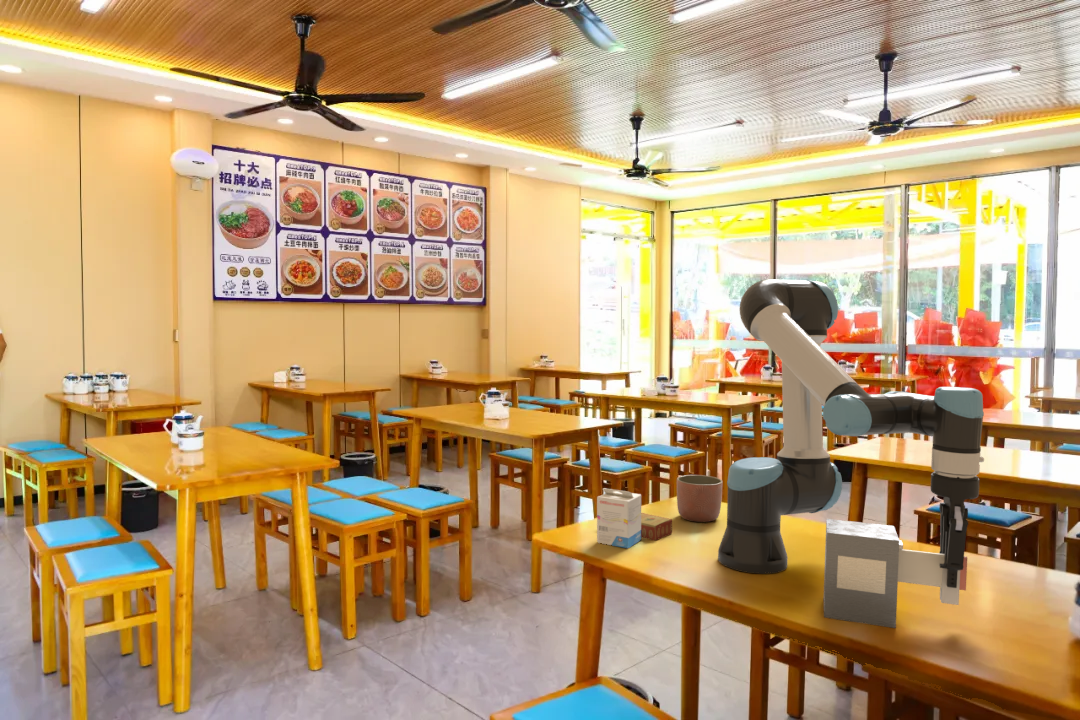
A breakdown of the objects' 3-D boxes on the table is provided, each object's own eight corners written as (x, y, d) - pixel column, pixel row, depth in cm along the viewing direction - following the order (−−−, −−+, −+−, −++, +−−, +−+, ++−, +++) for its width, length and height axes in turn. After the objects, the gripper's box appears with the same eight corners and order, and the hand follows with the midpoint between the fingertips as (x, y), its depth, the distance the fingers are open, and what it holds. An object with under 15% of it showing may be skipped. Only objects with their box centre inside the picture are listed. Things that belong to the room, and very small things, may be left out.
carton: (654, 542, 177) (655, 525, 177) (602, 529, 188) (603, 513, 188) (672, 534, 184) (672, 518, 183) (621, 522, 194) (621, 507, 194)
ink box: (642, 540, 178) (643, 487, 177) (627, 549, 170) (628, 494, 170) (611, 534, 182) (612, 482, 181) (595, 542, 175) (596, 489, 174)
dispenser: (824, 617, 132) (827, 532, 131) (823, 597, 142) (826, 518, 141) (902, 629, 127) (905, 541, 127) (896, 608, 137) (899, 526, 136)
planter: (676, 523, 193) (677, 483, 192) (675, 511, 205) (676, 473, 204) (723, 526, 191) (724, 485, 190) (719, 513, 203) (720, 475, 202)
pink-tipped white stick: (856, 576, 134) (857, 545, 134) (856, 575, 135) (857, 544, 135) (965, 590, 128) (967, 557, 127) (965, 589, 128) (966, 556, 128)
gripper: (987, 483, 120) (980, 620, 121) (971, 468, 133) (965, 591, 134) (937, 479, 123) (931, 612, 124) (926, 464, 135) (921, 585, 137)
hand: (949, 601), depth 129 cm, fingers closed, pressing on pink-tipped white stick
